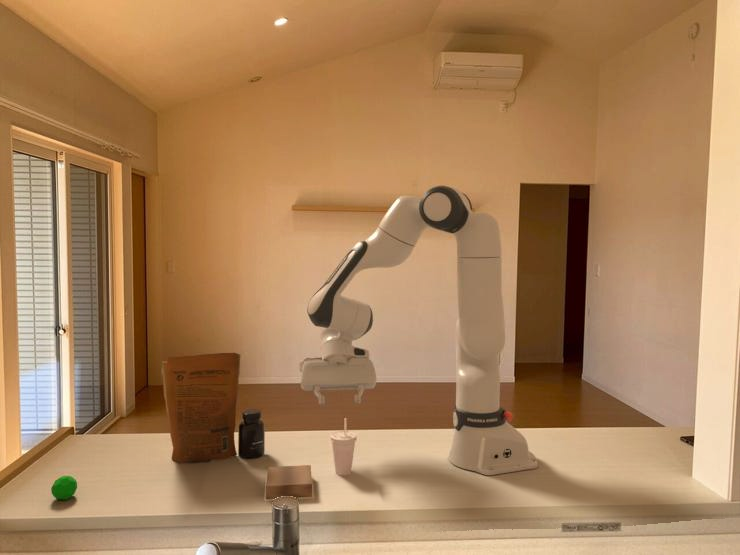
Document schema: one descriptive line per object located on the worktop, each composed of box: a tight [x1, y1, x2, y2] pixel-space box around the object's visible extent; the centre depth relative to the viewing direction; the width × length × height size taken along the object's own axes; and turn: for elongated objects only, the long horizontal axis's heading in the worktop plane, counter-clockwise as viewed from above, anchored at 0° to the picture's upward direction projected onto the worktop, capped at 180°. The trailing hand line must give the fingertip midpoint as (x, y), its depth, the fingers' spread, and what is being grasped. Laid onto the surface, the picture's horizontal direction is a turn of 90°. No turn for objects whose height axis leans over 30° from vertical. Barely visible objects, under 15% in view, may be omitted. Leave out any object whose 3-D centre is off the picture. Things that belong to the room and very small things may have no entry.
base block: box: [265, 464, 312, 499], centre depth 127 cm, size 10×10×3 cm
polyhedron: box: [50, 475, 78, 501], centre depth 122 cm, size 5×5×5 cm
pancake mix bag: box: [161, 352, 241, 464], centre depth 143 cm, size 7×19×28 cm, turn 99°
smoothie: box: [329, 417, 357, 476], centre depth 135 cm, size 6×6×14 cm
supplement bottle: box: [237, 408, 266, 460], centre depth 146 cm, size 7×7×12 cm
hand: (339, 402), depth 145 cm, fingers open, 8 cm apart
